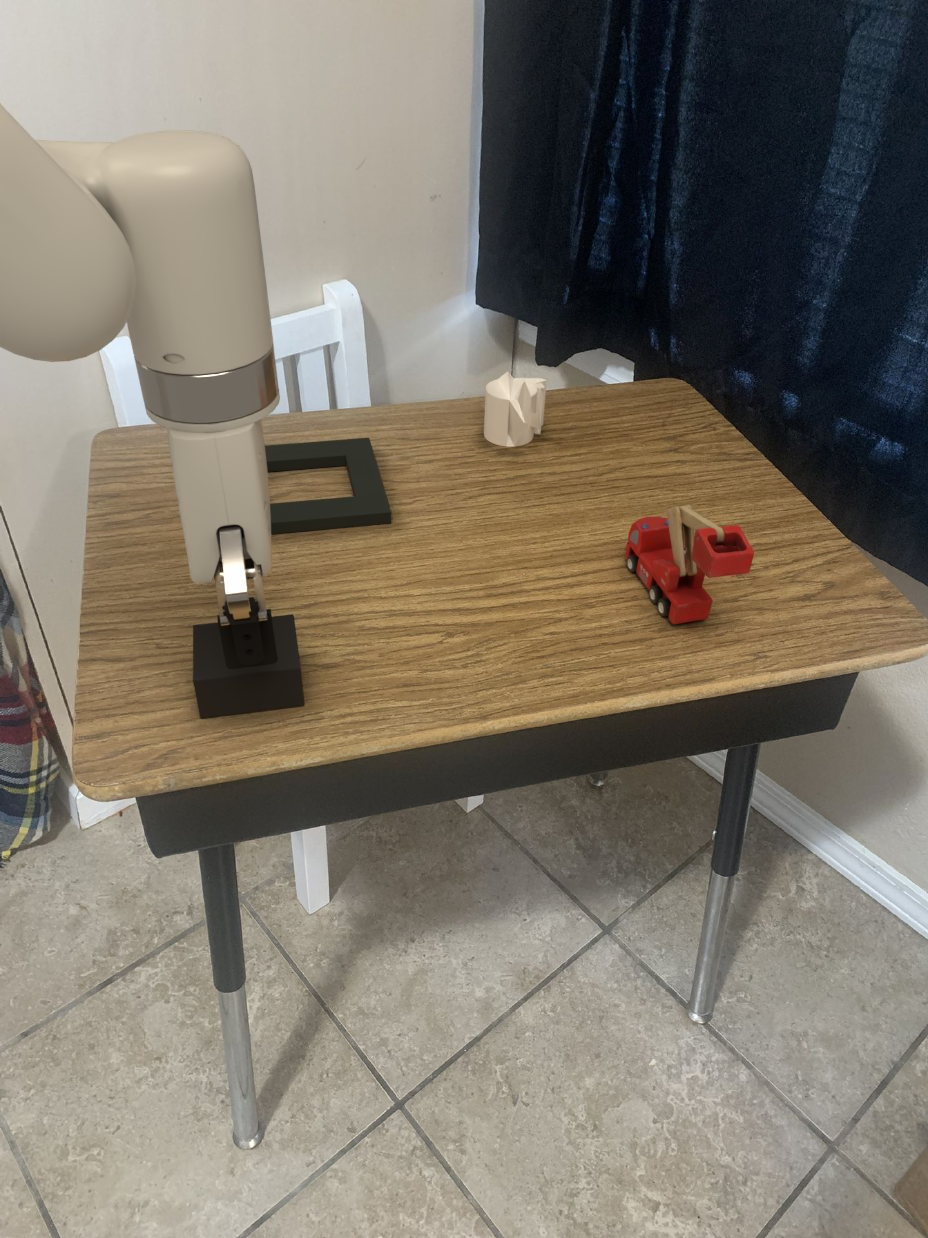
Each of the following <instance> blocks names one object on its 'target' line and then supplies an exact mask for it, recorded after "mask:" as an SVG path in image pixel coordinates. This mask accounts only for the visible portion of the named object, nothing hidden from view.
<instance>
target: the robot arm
mask: <svg viewBox="0 0 928 1238" xmlns="http://www.w3.org/2000/svg"><path fill="white" fill-rule="evenodd" d="M258 211H259V210H258V202H257V194H256V185H255V181H254V173H253V168H252V164H251V162H250V160H249V158H248V156H247V154H246V152H245V150H244V149H242V148H241V146H240V145H239V144H238V143H236V142H235V141H233V140H232V139H231V138H229V137H226V136H224V135H220V134H217V133H214V132H208V131H202V130H188V129H186V130H185V129H182V130H181V129H176V130H175V129H173V130H172V129H171V130H157V131H149V132H143V133H138V134H133V135H129V136H126V137H124V138H121V139H119V140H116V141H70V140H67V141H66V140H50V139H49V140H47V139H35V138H34V137H32V136H31V134H30V133H29V132H28V131H27V130H26V129H25V127H23V125H21V123H20V122H18V121H17V119H15V117H14V116H13V115H12V114H11V113H10V111H8V110H7V109H6V108H5V107H4V105H2V103H0V348H1V349H3V350H5V351H7V352H9V353H12V354H14V355H16V356H18V357H19V356H20V357H24V358H27V359H31V360H33V361H41V362H47V363H48V362H49V363H60V362H62V363H63V362H72V361H76V360H79V359H83V358H88V357H89V356H91V355H93V354H95V353H97V352H99V351H101V350H102V349H104V348H105V347H106V346H108V345H109V344H110V343H111V342H113V341H114V340H115V339H116V338H117V336H118V335H119V334H120V333H121V332H122V331H123V329H124V328H125V326H126V325H127V330H128V334H129V338H130V339H129V340H130V343H131V349H132V353H133V358H134V363H135V367H136V372H137V376H138V377H137V378H138V381H139V386H140V391H141V396H142V400H143V403H144V407H145V408H144V409H145V413H146V415H147V417H148V418H149V419H150V420H151V422H153V423H155V424H157V425H159V426H160V427H163V428H166V429H167V430H166V431H167V439H168V440H167V441H168V449H169V456H170V463H171V469H172V477H173V483H174V488H175V495H176V499H177V506H178V511H179V516H180V522H181V528H182V534H183V539H184V545H185V550H186V551H185V552H186V557H187V562H188V563H187V564H188V569H189V575H190V580H191V581H192V582H193V583H194V584H196V585H197V586H202V585H203V584H212V583H213V580H214V584H215V591H216V599H217V606H218V607H217V608H218V615H217V616H216V618H217V622H218V626H219V631H220V636H221V642H222V647H223V652H224V657H225V662H226V666H227V668H229V669H240V668H247V667H255V666H262V665H270V664H274V663H276V662H277V660H278V656H277V648H276V642H275V635H274V628H273V621H272V616H273V615H272V609H271V608H267V604H266V595H265V588H264V582H263V578H266V577H267V576H268V575H269V574H270V573H271V572H272V569H273V568H272V567H273V566H272V565H273V564H272V563H273V562H272V561H273V559H272V558H273V557H272V534H271V513H270V504H271V499H270V483H269V472H268V471H267V462H266V453H265V445H266V444H265V436H264V429H263V419H264V418H266V417H268V416H269V415H270V414H272V413H273V412H274V411H275V410H276V408H277V407H278V405H279V403H280V400H281V395H280V394H281V393H280V387H279V379H278V370H277V361H276V355H275V353H276V352H275V345H274V335H273V327H272V320H271V318H272V317H271V312H270V311H271V310H270V302H269V294H268V286H267V279H266V277H267V276H266V268H265V262H264V260H265V259H264V252H263V246H262V245H263V243H262V237H261V228H260V220H259V212H258ZM250 580H252V581H253V588H254V589H253V590H254V594H255V595H254V596H250V591H249V590H250V589H249V585H248V581H250Z"/></svg>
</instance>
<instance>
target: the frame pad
mask: <svg viewBox="0 0 928 1238" xmlns="http://www.w3.org/2000/svg"><path fill="white" fill-rule="evenodd" d="M265 453H266V462H267V471H268V473H273V472H284V471H285V472H286V471H297V470H298V471H300V470H309V469H310V470H312V469H321V468H337V467H346V470H347V474H348V478H349V482H350V487H351V492H352V494H353V495H352V496H342V497H329V498H319V499H306V500H296V501H284V502H271V503H270V513H271V535H278V534H289V533H290V534H291V533H300V532H313V531H321V530H332V529H343V528H354V527H355V528H356V527H366V526H374V525H375V526H376V525H384V524H385V525H386V524H392V509H391V506H390V503H389V500H388V496H387V492H386V489H385V487H384V483H383V482H384V481H383V480H382V475H381V472H380V469H379V466H378V462H377V459H376V455H375V452H374V449H373V446H372V443H371V439H370V437H357V438H346V439H345V438H344V439H334V440H333V439H332V440H320V441H319V440H318V441H306V442H305V441H304V442H294V443H279V444H278V443H277V444H267V445H266V444H265Z"/></svg>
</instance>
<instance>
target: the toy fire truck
mask: <svg viewBox="0 0 928 1238" xmlns="http://www.w3.org/2000/svg"><path fill="white" fill-rule="evenodd" d="M754 554H755V550H754V548H753V547H752V544H750V541H749V540H748V538H747V536H746V535H745V533H744V531H743V529H742V527H741V526H740V524H739V525H738V524H734V525H733V524H732V525H725V526H719V525H717V524H715V523H714V522H712V521H711V520H709V519H707V518H705V517H704V516H702V515H700V513H698V512H696V511H694V510H693V509H692V505H690V504H686V505H681V506H677V505H676V506H673V507H671V508H669V509H667V510H666V517H663V516H645V517H642V518H640V519H637V520H636V521H634V522H633V523H632V524H631V525H630V528H629V531H628V535H627V543H626V545H625V553H624V557H625V560H626V567H627V569H628V571H629V572H630V573H636V575H637V576H638V578H639V579H640V581H641V582H642V583H643V585H644V586H645V588H646V589H647V590H648V596H649V599H650V602H651V603H653V604H657V611H658V614H659V616H660V617H668V620H669V622H670V623H671V624H672V625H679V624H685V623H690V622H691V623H692V622H696V621H700V620H701V621H703V620H707V619H709V617H710V613H711V608H712V604H713V603H714V601H713V598H712V597H711V596H710V595H709V593H708V592H707V591H706V589H705V588H704V587H703V584H704V581H705V577H707V578H708V579H715V578H721V577H729V576H736V575H744V574H745V575H746V574H749V573H750V572H751V568H752V564H753V559H754V556H755V555H754Z"/></svg>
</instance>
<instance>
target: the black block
mask: <svg viewBox="0 0 928 1238" xmlns="http://www.w3.org/2000/svg"><path fill="white" fill-rule="evenodd" d="M272 621H273V628H274V635H275V642H276V648H277V656H278V660H277V662H276V663H274V664H270V665H262V666H255V667H247V668H240V669H229V668H227V666H226V662H225V657H224V652H223V647H222V642H221V636H220V631H219V626H218V621H217V622H209V623H200V624H199V623H198V624H193V625H192V684H193V689H194V694H195V698H196V703H197V709H198V713H199V718H200V719H201V720H202V719H209V718H210V719H211V718H218V717H226V716H233V715H241V714H242V715H243V714H250V713H258V712H265V711H266V712H267V711H274V710H281V709H291V708H297V707H304V706H305V698H304V697H305V696H304V688H303V687H304V686H303V677H302V676H303V675H302V668H301V667H302V666H301V661H300V659H301V658H300V651H299V644H298V637H297V629H296V628H297V627H296V622H295V615H294V614H293V613H292V614H291V613H290V614H282V615H274V616H273V615H272Z"/></svg>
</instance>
